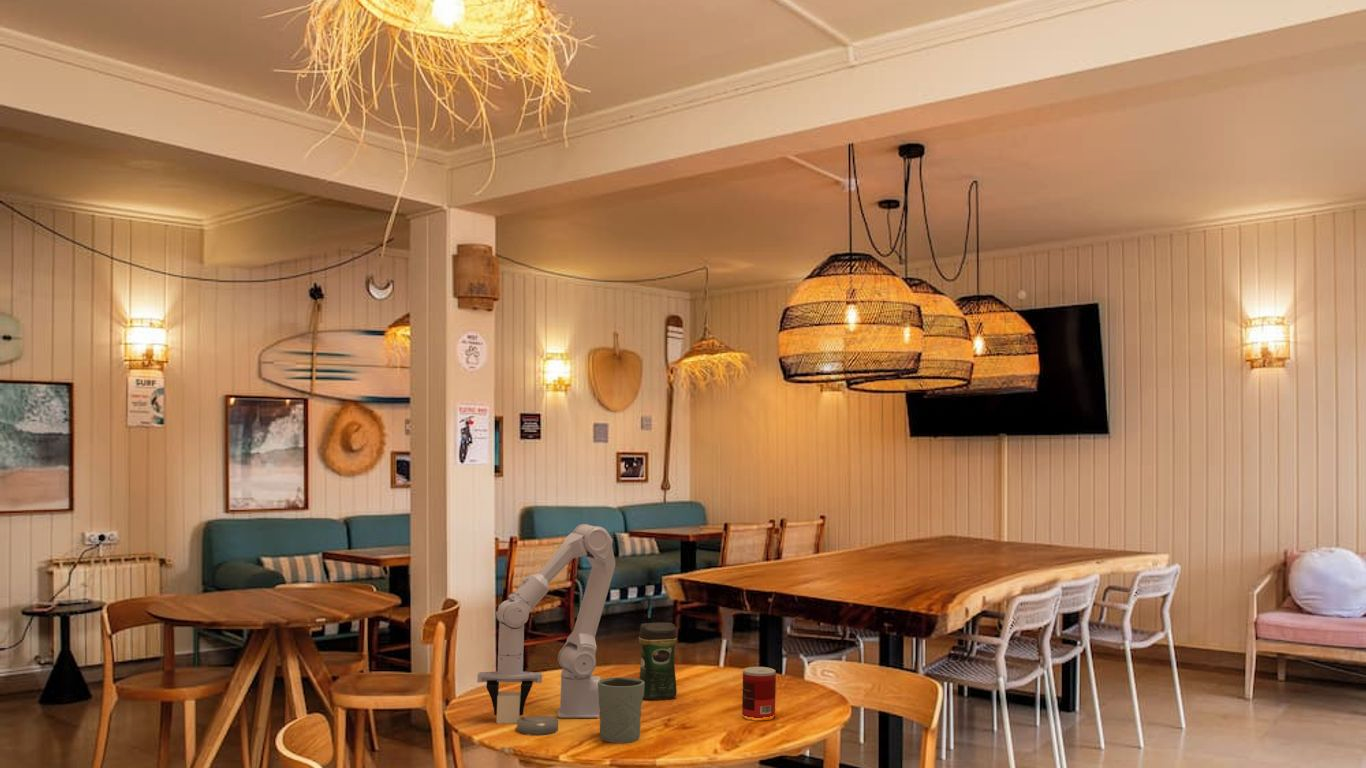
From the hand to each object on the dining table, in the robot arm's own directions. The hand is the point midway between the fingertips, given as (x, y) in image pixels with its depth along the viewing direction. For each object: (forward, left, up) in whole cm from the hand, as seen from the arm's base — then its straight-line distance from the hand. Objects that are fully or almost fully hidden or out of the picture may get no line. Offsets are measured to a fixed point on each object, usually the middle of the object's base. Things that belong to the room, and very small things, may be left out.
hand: (508, 714), depth 242 cm
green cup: (-25, +14, -2) cm, 29 cm away
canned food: (-58, -4, -2) cm, 58 cm away
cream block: (0, 0, -1) cm, 1 cm away
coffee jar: (-35, -24, -2) cm, 42 cm away
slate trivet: (-7, +8, -1) cm, 11 cm away
